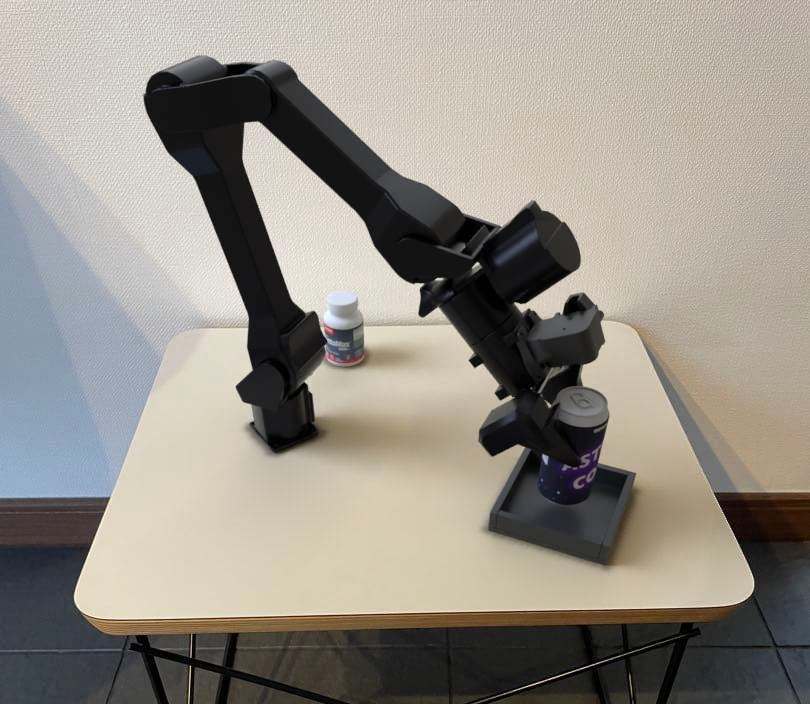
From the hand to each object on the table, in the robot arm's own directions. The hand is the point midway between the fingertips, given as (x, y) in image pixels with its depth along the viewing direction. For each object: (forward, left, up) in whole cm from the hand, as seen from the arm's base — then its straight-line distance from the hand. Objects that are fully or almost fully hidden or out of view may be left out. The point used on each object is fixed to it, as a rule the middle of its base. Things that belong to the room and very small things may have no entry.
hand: (585, 448), depth 77 cm
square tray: (-1, +1, -9) cm, 9 cm away
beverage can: (-1, +1, -7) cm, 7 cm away
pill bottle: (-4, +41, -9) cm, 42 cm away
